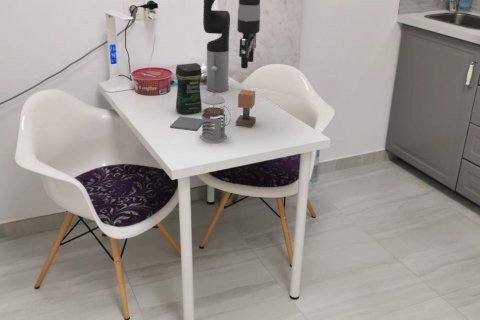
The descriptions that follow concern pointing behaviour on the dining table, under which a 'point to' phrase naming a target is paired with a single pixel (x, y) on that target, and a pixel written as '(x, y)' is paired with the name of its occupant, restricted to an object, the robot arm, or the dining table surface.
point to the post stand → (246, 119)
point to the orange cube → (246, 99)
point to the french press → (219, 132)
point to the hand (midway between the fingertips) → (247, 64)
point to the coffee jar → (188, 88)
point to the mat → (187, 123)
